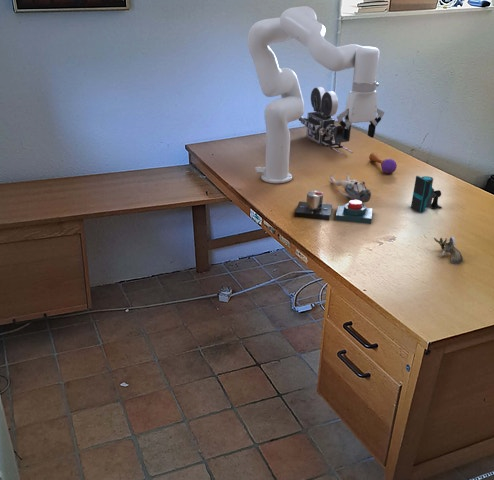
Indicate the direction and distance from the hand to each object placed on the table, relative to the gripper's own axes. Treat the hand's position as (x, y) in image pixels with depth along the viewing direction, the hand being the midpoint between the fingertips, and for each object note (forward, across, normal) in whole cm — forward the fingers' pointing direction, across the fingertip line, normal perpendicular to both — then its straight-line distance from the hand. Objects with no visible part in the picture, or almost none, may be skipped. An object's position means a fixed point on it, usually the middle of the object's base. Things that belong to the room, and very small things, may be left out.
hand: (358, 138), depth 194 cm
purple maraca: (+24, -29, -30) cm, 48 cm away
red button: (+20, +6, +14) cm, 25 cm away
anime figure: (+24, -3, -6) cm, 25 cm away
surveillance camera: (+24, -22, +14) cm, 36 cm away
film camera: (+24, -21, -68) cm, 75 cm away
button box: (+24, +6, +14) cm, 28 cm away
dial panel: (+24, +18, +6) cm, 30 cm away
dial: (+22, +18, +6) cm, 29 cm away
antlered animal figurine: (+24, -7, +49) cm, 55 cm away
